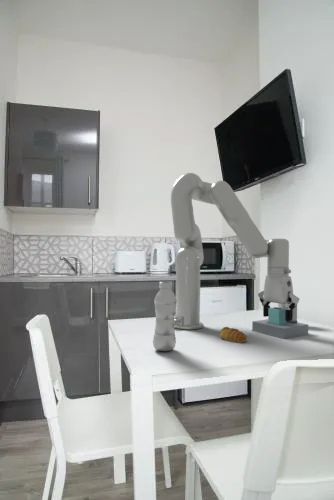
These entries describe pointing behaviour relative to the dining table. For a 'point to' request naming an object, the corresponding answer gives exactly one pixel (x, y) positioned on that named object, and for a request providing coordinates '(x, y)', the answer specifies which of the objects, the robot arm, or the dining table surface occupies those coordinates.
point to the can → (286, 309)
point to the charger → (276, 316)
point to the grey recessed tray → (280, 328)
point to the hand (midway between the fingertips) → (277, 318)
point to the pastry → (232, 335)
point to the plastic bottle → (165, 317)
